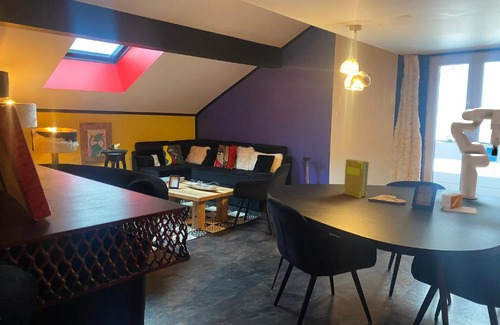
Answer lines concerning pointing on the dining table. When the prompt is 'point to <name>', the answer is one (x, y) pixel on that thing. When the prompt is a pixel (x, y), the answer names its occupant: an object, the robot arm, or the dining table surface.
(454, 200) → the small box
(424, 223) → the dining table surface
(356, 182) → the book
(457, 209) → the mat
